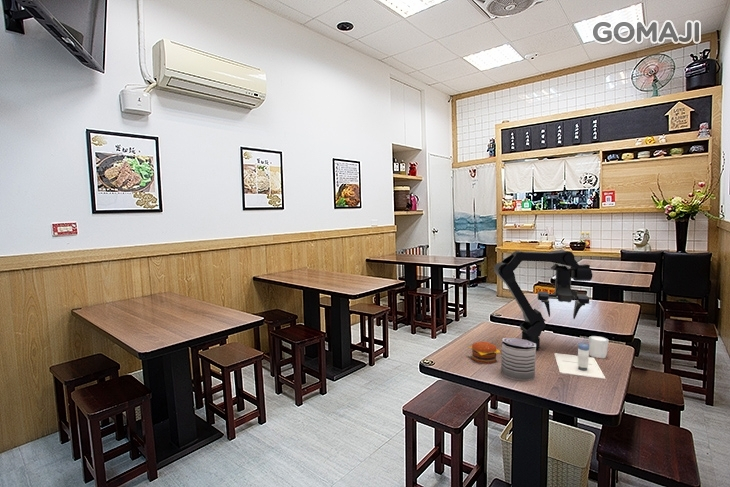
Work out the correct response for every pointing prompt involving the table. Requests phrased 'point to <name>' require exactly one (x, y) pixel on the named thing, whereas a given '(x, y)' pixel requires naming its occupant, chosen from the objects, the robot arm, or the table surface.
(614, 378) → the table surface
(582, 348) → the marker
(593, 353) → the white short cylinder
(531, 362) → the can
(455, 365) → the table surface
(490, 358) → the hamburger
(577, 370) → the paper
